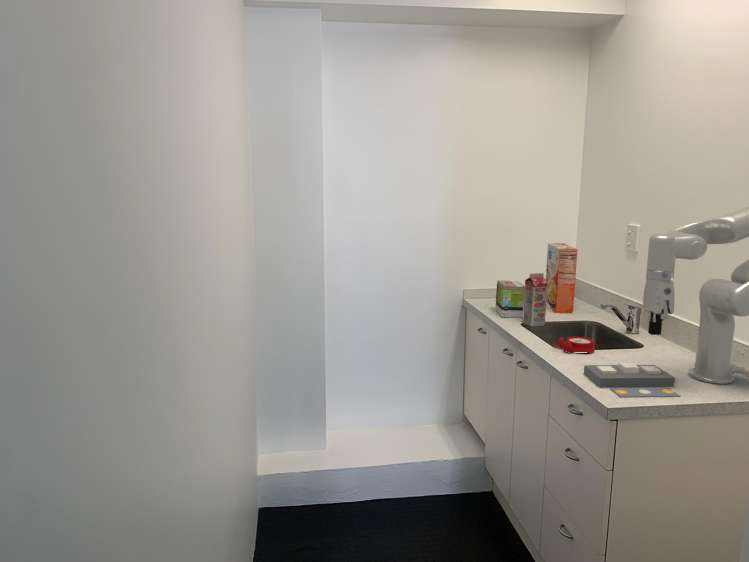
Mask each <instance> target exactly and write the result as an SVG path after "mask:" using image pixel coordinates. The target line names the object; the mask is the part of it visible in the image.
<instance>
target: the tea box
mask: <svg viewBox="0 0 749 562" xmlns="http://www.w3.org/2000/svg"><path fill="white" fill-rule="evenodd" d="M524 292H525V284H524V285H523V283H521V282H520V281H518V280H497V281H496V291H495V309H494V310H495V311H496V313H497V314H498V315H499V316H500V317H501V318H503V317H505V318H506V319H507V318H508V319H510V318H511V319H523V309H524Z"/></svg>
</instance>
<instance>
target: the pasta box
mask: <svg viewBox="0 0 749 562" xmlns="http://www.w3.org/2000/svg"><path fill="white" fill-rule="evenodd" d="M577 261H578V249H577V248H576V247H573V246H571V245H570V244H569V245H568V244H567V243H561V242H560V243H556V242H555V243H552V242H551V243H550V242H548V243H547V253H546V269H545V280H546V281H547V282H548V284H547V299H546V303H547V304H548V305H549V306H550V308H551V309H552V310H551V309H550V308H549V309H550V310H551V311H553V313H554V314H574V303H575V301H574V299H575V287H576V286H575V285H576V273H577Z"/></svg>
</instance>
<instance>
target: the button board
mask: <svg viewBox="0 0 749 562" xmlns="http://www.w3.org/2000/svg"><path fill="white" fill-rule="evenodd" d="M636 365H637V366H638V367H639V374H624V373H622V372H621V371H619V370H618V366H619V364H601V365H600V364H591V365H589V364H585V365H583V366H584V367H583V375H584V374H585V375H586V376H587V378H588V380H590V381H591V380H592V381H593V382H592V381H591V382H592V383H593V384H594V385H596V386H597V385H598V386H599V387H603V389H605V388H604V387H606V388H607V389H610V388H611V387H612V388H675V381H676V377H675V376H673V375H671V374H670V373H668V372H667V371H665V370H663V369H662V368H660V367H658V366H657V365H655V364H636ZM597 366H611V367H612V368H614V369H615V370H616V371H617V374H601V373H600V372H599V371H597V370H596V368H597ZM640 366H655V367H656V368H658V369H659V370H661V374H646V373H644V372H643V371H641V370H640ZM585 375H584V376H585ZM586 376H585V377H586ZM598 386H597V387H598ZM599 387H598V388H599ZM608 387H609V388H608Z"/></svg>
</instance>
